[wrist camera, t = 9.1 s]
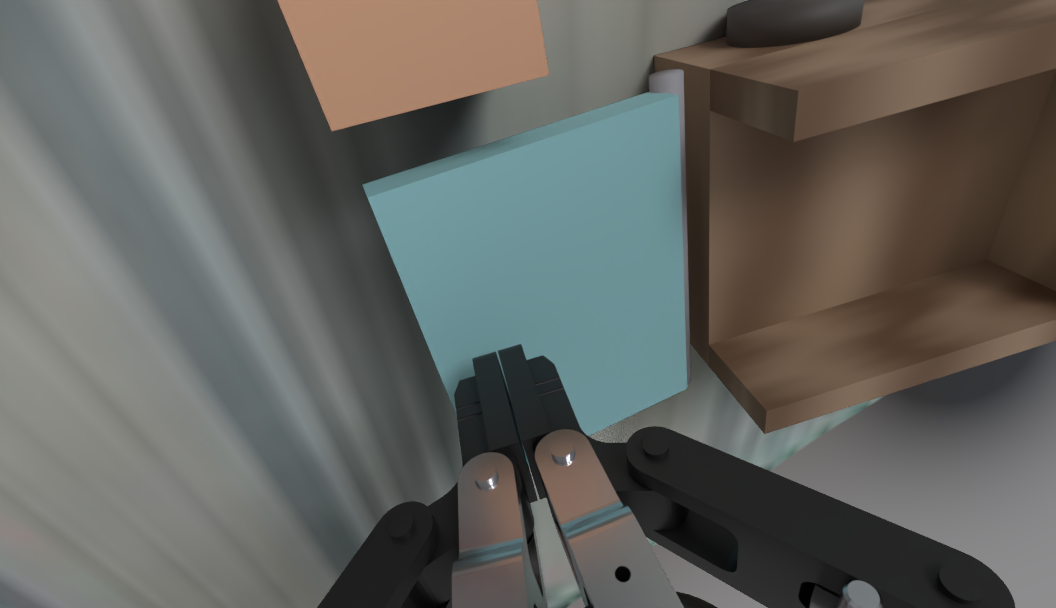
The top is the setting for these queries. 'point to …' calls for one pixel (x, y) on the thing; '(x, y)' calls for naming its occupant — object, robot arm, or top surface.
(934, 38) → the truck bed
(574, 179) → the tailgate
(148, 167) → the top surface
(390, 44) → the tapered tan wedge
